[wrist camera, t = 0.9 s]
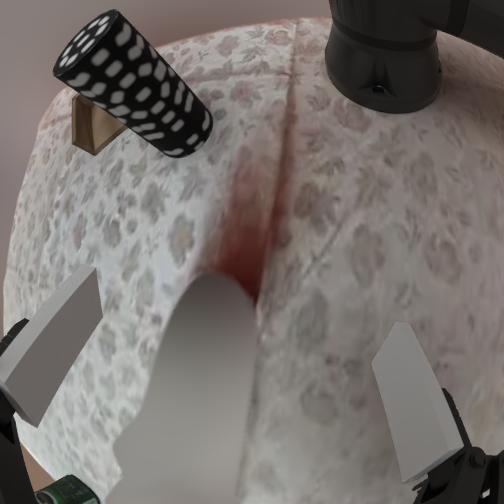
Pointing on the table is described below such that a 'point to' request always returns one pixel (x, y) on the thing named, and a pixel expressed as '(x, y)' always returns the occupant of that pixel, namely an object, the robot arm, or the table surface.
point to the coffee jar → (66, 492)
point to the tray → (92, 125)
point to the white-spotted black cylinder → (134, 85)
